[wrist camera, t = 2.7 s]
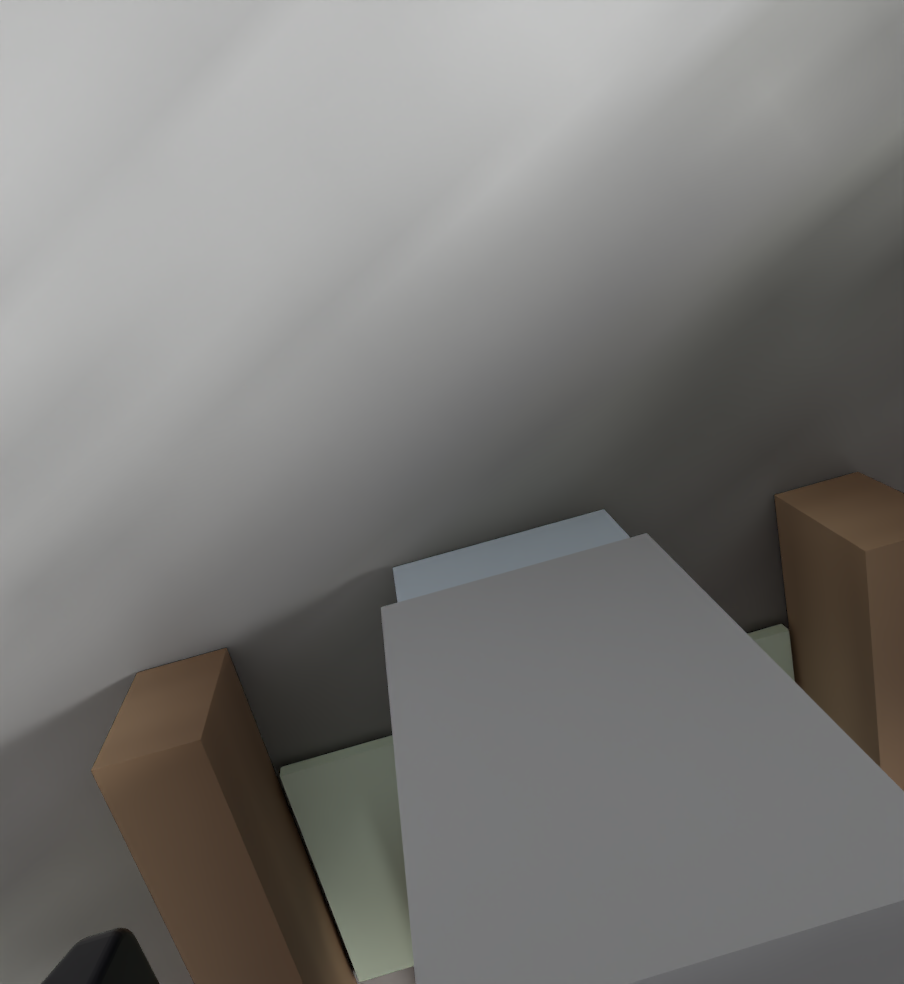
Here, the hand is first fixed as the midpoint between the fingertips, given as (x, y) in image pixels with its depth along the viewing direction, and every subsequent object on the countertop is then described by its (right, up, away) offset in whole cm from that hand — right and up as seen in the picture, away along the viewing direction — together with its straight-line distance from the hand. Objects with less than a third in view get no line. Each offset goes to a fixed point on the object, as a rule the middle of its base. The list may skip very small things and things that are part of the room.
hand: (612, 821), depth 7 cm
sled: (+1, -6, +6) cm, 8 cm away
